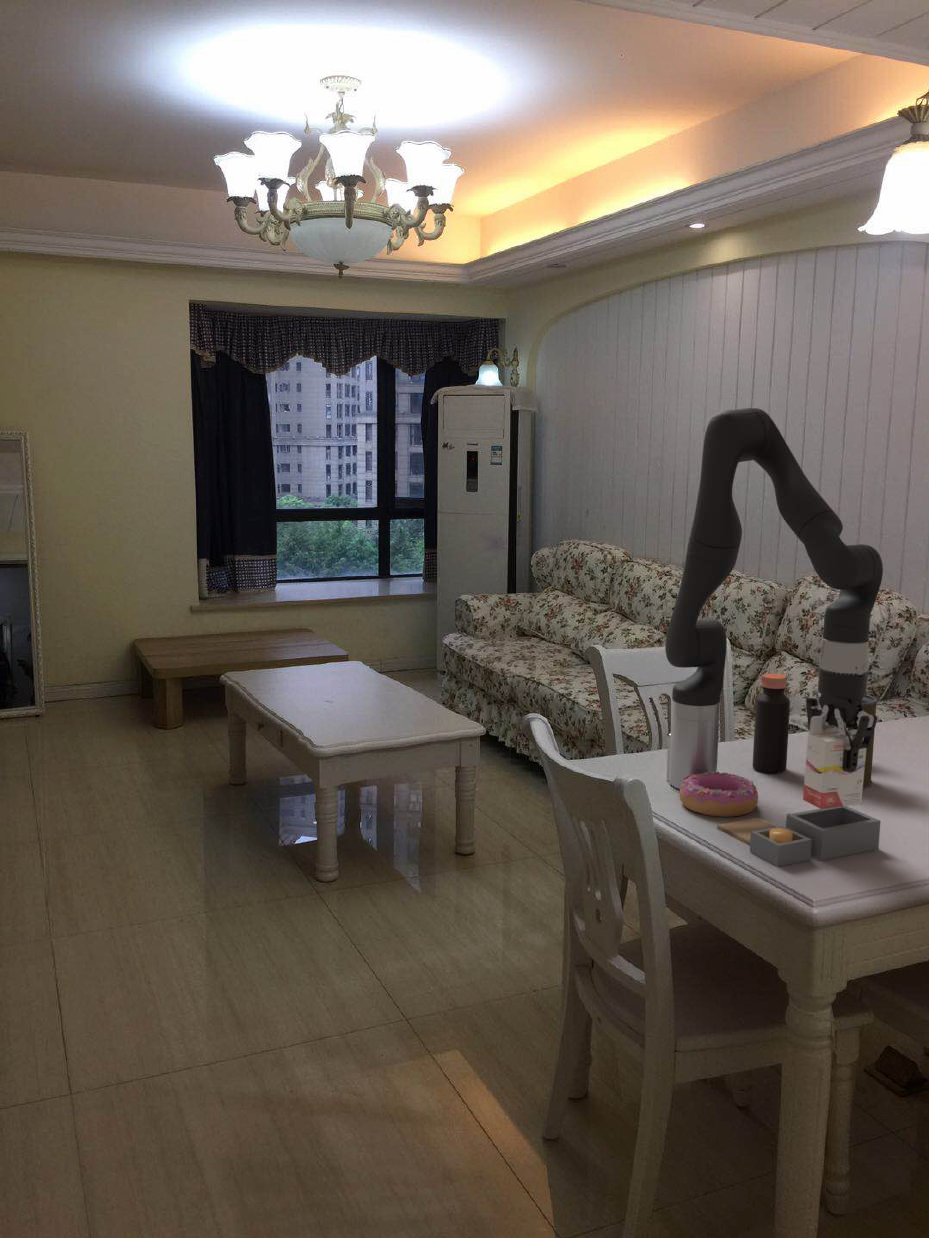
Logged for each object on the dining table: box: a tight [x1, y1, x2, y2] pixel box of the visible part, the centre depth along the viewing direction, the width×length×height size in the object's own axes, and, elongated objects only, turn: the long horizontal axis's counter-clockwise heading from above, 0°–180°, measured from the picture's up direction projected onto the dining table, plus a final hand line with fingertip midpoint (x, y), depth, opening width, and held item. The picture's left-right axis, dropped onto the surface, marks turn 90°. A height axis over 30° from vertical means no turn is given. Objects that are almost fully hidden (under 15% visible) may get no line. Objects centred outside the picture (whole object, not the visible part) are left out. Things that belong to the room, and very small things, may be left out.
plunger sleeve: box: [749, 825, 812, 868], centre depth 170 cm, size 7×7×4 cm
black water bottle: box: [752, 673, 791, 775], centre depth 215 cm, size 7×7×20 cm
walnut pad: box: [716, 817, 777, 846], centre depth 181 cm, size 9×9×1 cm
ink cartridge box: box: [802, 716, 866, 809], centre depth 173 cm, size 9×5×15 cm, turn 111°
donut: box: [679, 771, 759, 818], centre depth 194 cm, size 14×14×5 cm
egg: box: [769, 828, 793, 843], centre depth 170 cm, size 4×4×4 cm
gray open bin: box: [785, 806, 881, 862], centre depth 174 cm, size 8×12×5 cm
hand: (836, 765), depth 173 cm, fingers closed on ink cartridge box, 5 cm apart
